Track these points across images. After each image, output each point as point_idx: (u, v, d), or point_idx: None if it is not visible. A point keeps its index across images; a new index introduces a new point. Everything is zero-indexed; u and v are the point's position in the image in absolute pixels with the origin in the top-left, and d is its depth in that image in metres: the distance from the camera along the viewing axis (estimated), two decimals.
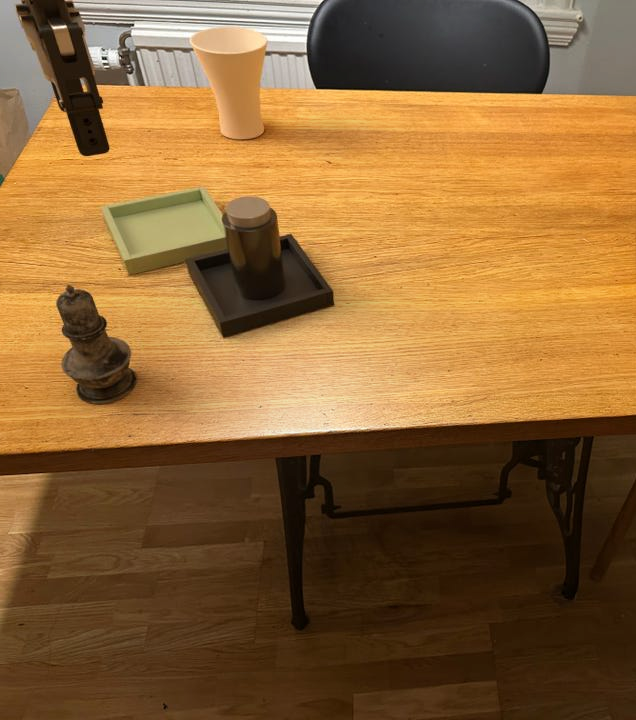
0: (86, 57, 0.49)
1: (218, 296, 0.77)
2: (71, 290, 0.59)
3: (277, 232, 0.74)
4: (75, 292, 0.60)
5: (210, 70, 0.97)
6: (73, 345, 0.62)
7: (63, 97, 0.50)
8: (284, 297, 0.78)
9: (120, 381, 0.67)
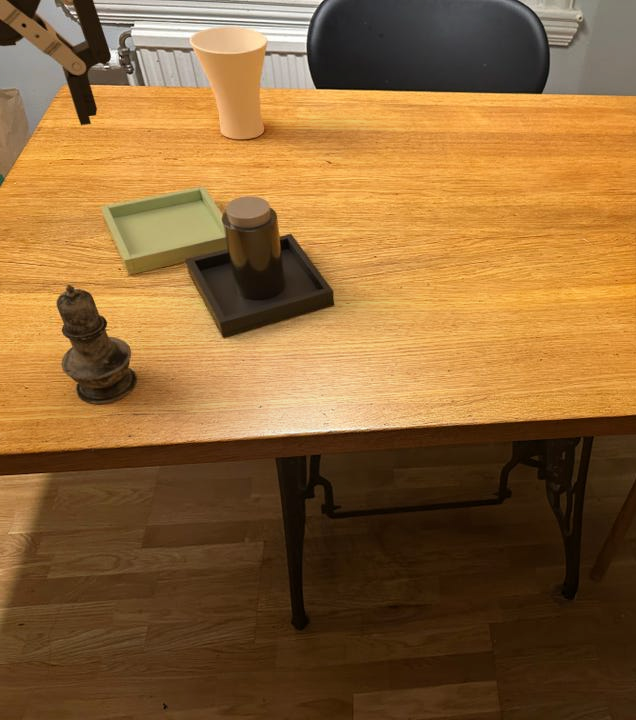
0: None
1: (218, 296, 0.77)
2: (71, 290, 0.59)
3: (277, 232, 0.74)
4: (75, 292, 0.60)
5: (210, 70, 0.97)
6: (73, 345, 0.62)
7: (106, 43, 0.49)
8: (284, 297, 0.78)
9: (120, 381, 0.67)
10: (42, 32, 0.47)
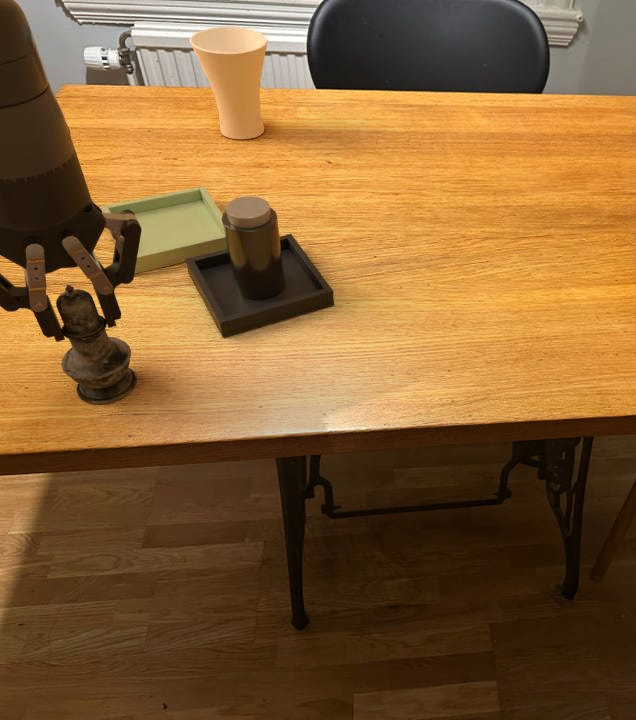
0: None
1: (218, 296, 0.77)
2: (71, 290, 0.59)
3: (277, 232, 0.74)
4: (75, 292, 0.60)
5: (210, 70, 0.97)
6: (73, 345, 0.62)
7: (134, 271, 0.60)
8: (284, 297, 0.78)
9: (120, 381, 0.67)
10: (94, 265, 0.57)
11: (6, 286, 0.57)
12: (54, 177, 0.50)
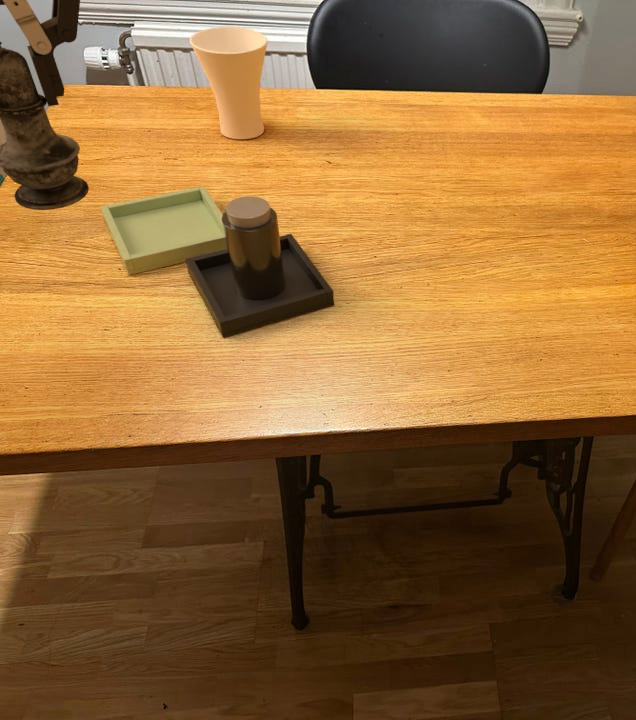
0: None
1: (218, 296, 0.77)
2: None
3: (277, 232, 0.74)
4: (3, 49, 0.48)
5: (210, 70, 0.97)
6: (5, 125, 0.51)
7: (77, 25, 0.49)
8: (284, 297, 0.78)
9: (68, 188, 0.56)
10: (23, 2, 0.46)
11: None
12: None
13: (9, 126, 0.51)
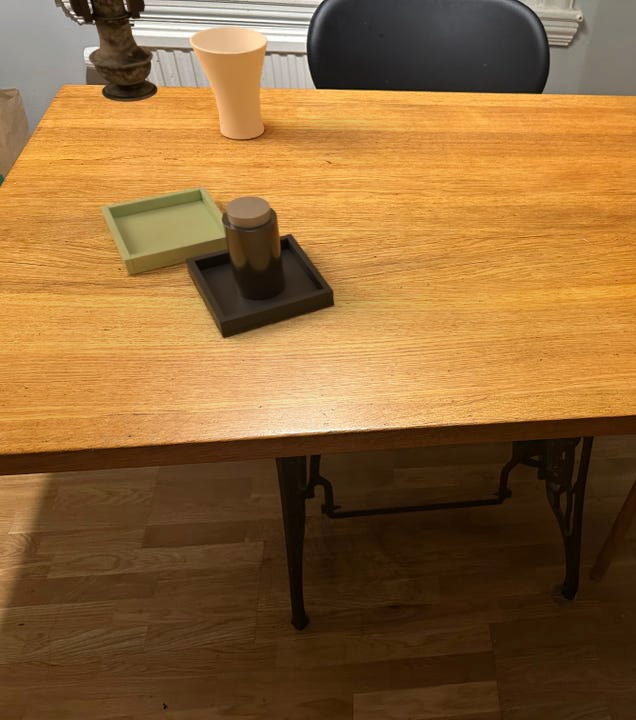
0: None
1: (218, 296, 0.77)
2: None
3: (277, 232, 0.74)
4: None
5: (210, 70, 0.97)
6: (100, 32, 0.67)
7: None
8: (284, 297, 0.78)
9: (142, 87, 0.72)
10: None
11: None
12: None
13: (103, 32, 0.67)
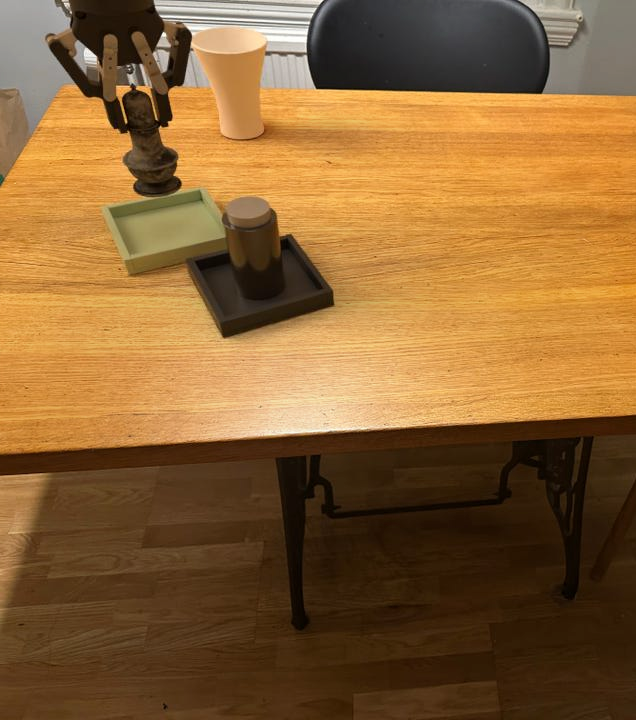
0: None
1: (218, 296, 0.77)
2: (134, 87, 0.73)
3: (277, 232, 0.74)
4: (137, 90, 0.74)
5: (210, 70, 0.97)
6: (133, 140, 0.76)
7: None
8: (284, 297, 0.78)
9: (169, 182, 0.81)
10: (154, 62, 0.71)
11: None
12: None
13: (136, 140, 0.76)
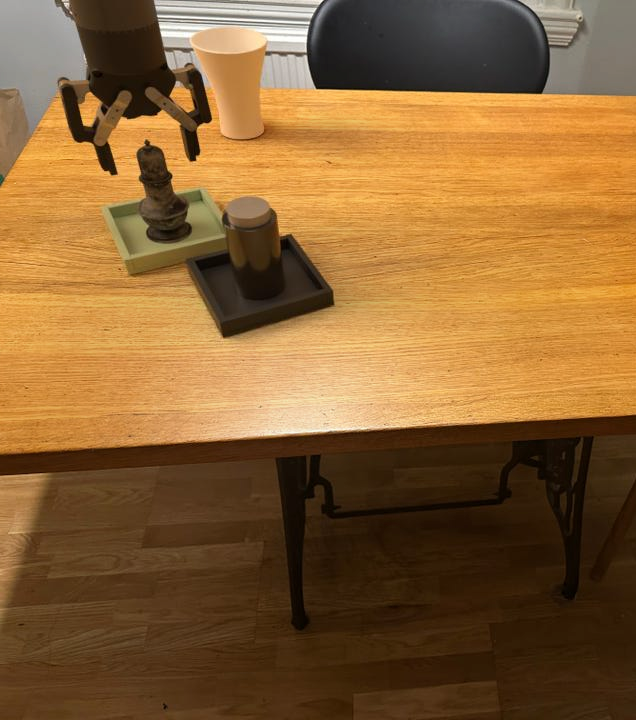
0: None
1: (218, 296, 0.77)
2: (148, 143, 0.77)
3: (277, 232, 0.74)
4: (151, 146, 0.78)
5: (210, 70, 0.97)
6: (147, 191, 0.80)
7: None
8: (284, 297, 0.78)
9: (180, 228, 0.85)
10: (174, 107, 0.75)
11: None
12: (145, 33, 0.68)
13: (150, 192, 0.80)
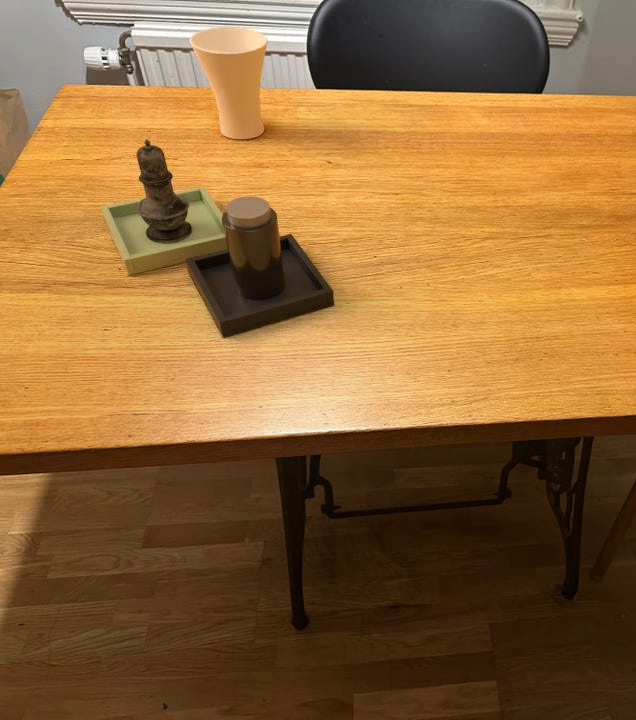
0: None
1: (218, 296, 0.77)
2: (148, 143, 0.77)
3: (277, 232, 0.74)
4: (151, 146, 0.78)
5: (210, 70, 0.97)
6: (147, 191, 0.80)
7: None
8: (284, 297, 0.78)
9: (180, 228, 0.85)
10: None
11: None
12: None
13: (150, 192, 0.80)
